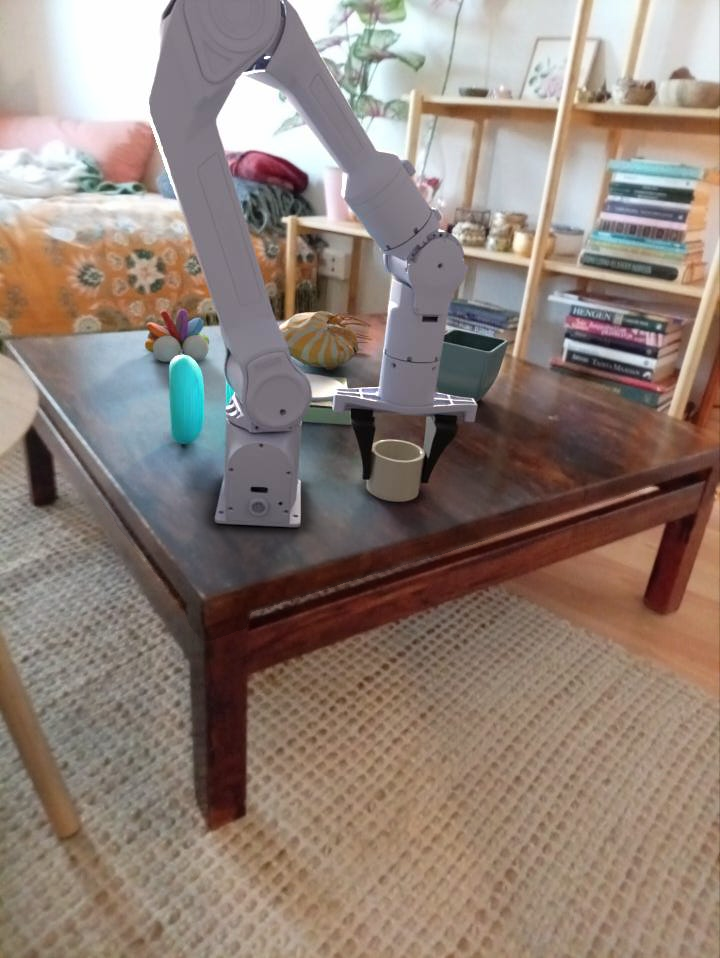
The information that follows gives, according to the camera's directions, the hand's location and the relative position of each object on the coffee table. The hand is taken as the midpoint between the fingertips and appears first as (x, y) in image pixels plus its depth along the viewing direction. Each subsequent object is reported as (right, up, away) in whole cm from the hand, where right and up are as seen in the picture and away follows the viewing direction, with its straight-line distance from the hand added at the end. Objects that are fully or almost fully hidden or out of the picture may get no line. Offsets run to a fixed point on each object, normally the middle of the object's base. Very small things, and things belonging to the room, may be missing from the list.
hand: (394, 477), depth 75 cm
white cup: (0, -1, +1) cm, 1 cm away
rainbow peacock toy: (-32, +19, +34) cm, 50 cm away
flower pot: (+11, +12, +30) cm, 34 cm away
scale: (-11, +10, +21) cm, 26 cm away
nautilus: (-8, +19, +39) cm, 44 cm away
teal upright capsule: (-21, +4, +7) cm, 22 cm away
